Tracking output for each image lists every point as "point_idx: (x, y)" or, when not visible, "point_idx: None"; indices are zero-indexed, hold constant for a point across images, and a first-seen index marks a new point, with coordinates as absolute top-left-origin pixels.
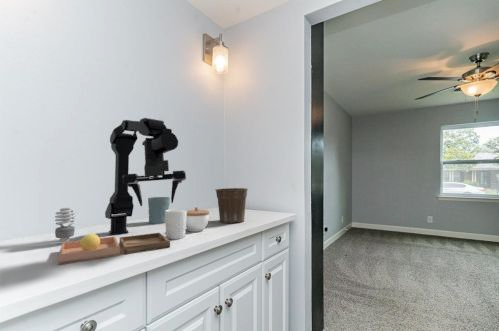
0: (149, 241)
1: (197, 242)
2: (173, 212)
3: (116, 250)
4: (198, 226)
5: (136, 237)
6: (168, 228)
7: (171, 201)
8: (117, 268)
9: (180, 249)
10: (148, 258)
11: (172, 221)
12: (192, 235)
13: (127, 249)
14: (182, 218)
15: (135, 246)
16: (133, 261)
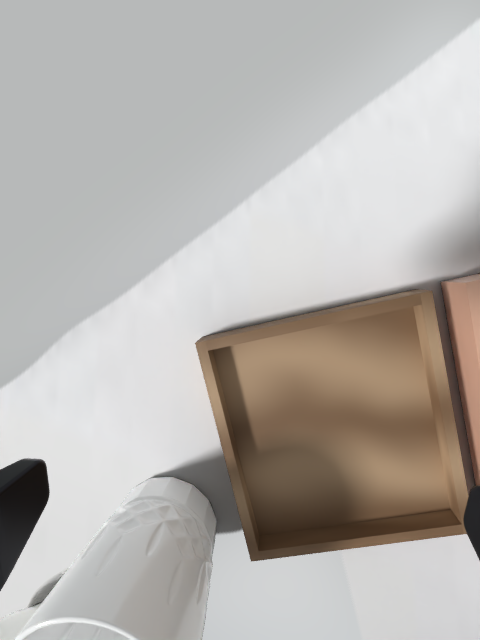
0: (302, 444)
1: (70, 378)
2: (114, 619)
3: (471, 279)
4: (29, 612)
5: (375, 527)
6: (193, 536)
7: (28, 468)
8: (436, 71)
9: (155, 282)
10: (303, 182)
11: (153, 555)
12: (85, 524)
13: (413, 292)
14: (74, 569)
15: (376, 302)
16: (370, 157)
